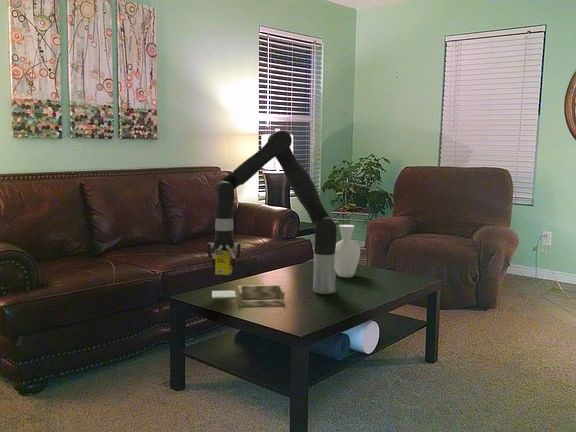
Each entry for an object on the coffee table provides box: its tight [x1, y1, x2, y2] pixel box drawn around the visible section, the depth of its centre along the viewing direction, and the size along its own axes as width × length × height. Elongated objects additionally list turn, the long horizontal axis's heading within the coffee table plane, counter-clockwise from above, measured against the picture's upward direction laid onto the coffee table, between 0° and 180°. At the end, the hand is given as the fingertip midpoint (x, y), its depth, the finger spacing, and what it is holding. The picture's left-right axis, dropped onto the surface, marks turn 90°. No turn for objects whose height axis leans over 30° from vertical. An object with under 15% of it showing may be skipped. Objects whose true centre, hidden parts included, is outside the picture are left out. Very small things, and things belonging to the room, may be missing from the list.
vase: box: [335, 224, 361, 278], centre depth 282 cm, size 14×14×25 cm
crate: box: [237, 284, 286, 307], centre depth 234 cm, size 18×13×5 cm
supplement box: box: [214, 248, 234, 278], centre depth 241 cm, size 6×6×11 cm
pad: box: [211, 290, 237, 300], centre depth 243 cm, size 10×10×1 cm
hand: (223, 267), depth 241 cm, fingers closed on supplement box, 7 cm apart
